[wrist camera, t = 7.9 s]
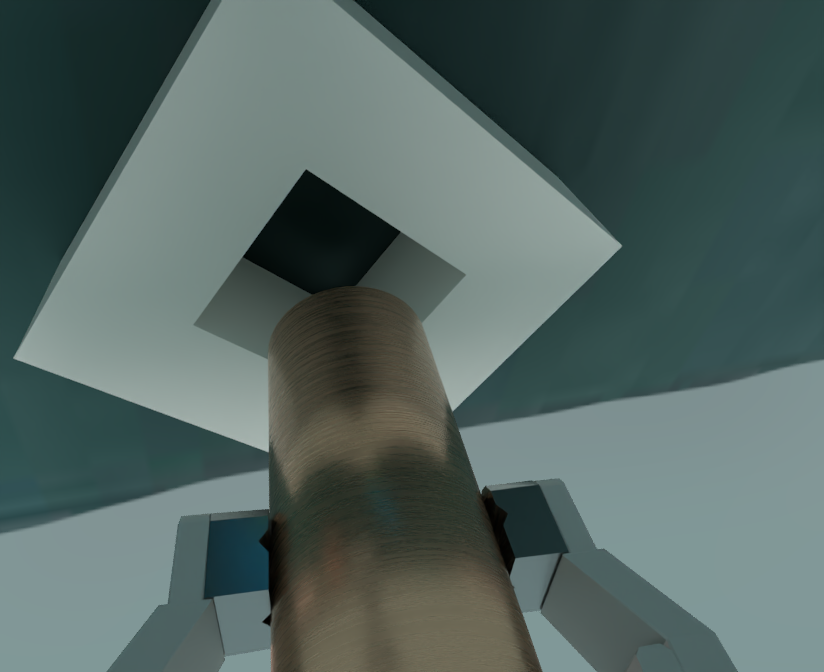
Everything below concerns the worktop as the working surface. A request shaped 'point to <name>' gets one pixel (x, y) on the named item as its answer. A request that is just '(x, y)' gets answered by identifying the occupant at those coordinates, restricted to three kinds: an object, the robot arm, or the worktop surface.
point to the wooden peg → (377, 503)
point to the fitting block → (264, 192)
